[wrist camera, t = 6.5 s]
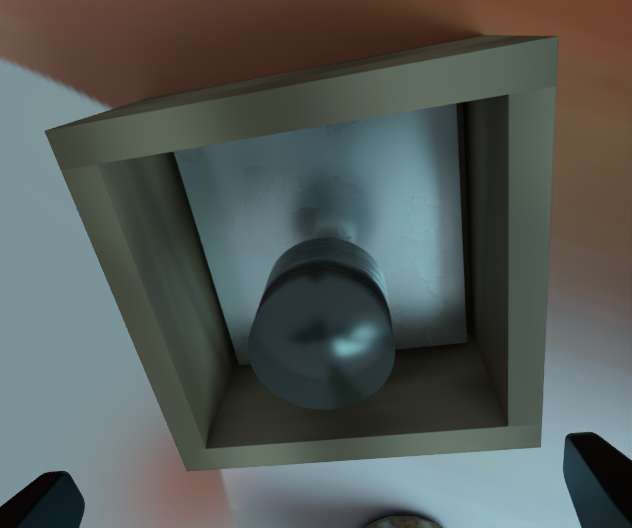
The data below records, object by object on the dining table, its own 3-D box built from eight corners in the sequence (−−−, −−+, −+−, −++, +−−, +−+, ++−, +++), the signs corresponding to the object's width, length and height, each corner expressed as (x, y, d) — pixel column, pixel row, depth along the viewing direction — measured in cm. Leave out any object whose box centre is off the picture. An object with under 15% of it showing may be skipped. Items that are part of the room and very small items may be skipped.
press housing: (485, 35, 15) (558, 36, 10) (490, 337, 20) (540, 447, 15) (142, 99, 17) (44, 130, 11) (227, 364, 22) (186, 471, 17)
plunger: (450, 92, 15) (519, 132, 9) (462, 330, 19) (515, 473, 13) (179, 139, 16) (74, 203, 10) (243, 353, 20) (195, 492, 14)
